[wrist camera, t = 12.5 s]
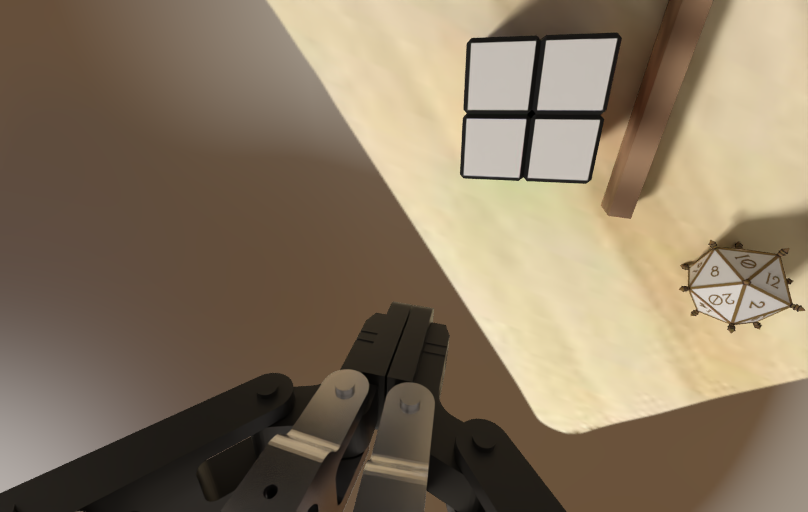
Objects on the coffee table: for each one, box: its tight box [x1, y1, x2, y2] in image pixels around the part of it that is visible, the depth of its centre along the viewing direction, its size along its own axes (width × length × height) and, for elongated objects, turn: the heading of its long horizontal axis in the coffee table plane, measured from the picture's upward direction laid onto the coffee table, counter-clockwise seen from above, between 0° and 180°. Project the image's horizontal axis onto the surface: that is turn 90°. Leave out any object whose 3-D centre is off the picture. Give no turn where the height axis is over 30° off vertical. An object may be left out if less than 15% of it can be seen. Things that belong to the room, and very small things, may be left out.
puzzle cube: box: [460, 33, 622, 184], centre depth 31 cm, size 10×10×10 cm
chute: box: [601, 0, 713, 219], centre depth 31 cm, size 18×21×3 cm
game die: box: [679, 240, 805, 333], centre depth 35 cm, size 9×8×10 cm
